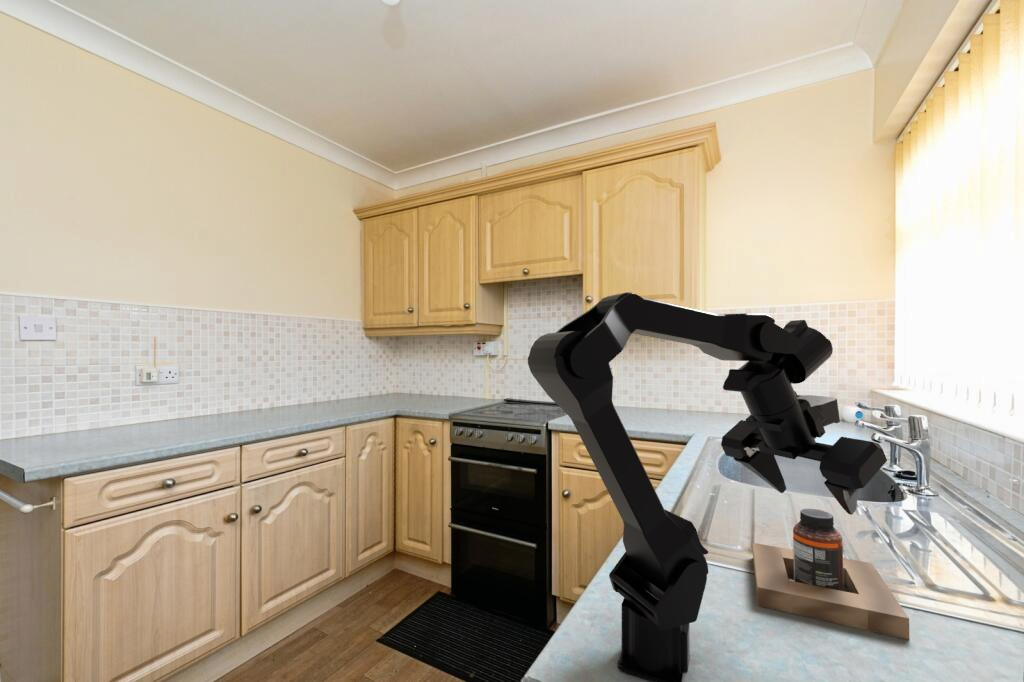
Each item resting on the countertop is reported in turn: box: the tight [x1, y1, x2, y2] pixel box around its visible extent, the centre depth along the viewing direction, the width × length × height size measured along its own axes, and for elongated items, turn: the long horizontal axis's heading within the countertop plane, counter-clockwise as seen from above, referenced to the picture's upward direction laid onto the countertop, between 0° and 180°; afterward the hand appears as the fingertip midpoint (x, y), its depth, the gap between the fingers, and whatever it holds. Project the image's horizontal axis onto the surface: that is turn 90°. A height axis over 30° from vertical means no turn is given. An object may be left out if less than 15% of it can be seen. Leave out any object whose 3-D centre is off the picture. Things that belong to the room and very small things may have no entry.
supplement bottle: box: [792, 508, 845, 591], centre depth 65 cm, size 6×6×11 cm
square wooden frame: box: [752, 542, 910, 640], centre depth 65 cm, size 16×16×2 cm
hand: (815, 500), depth 60 cm, fingers open, 9 cm apart
